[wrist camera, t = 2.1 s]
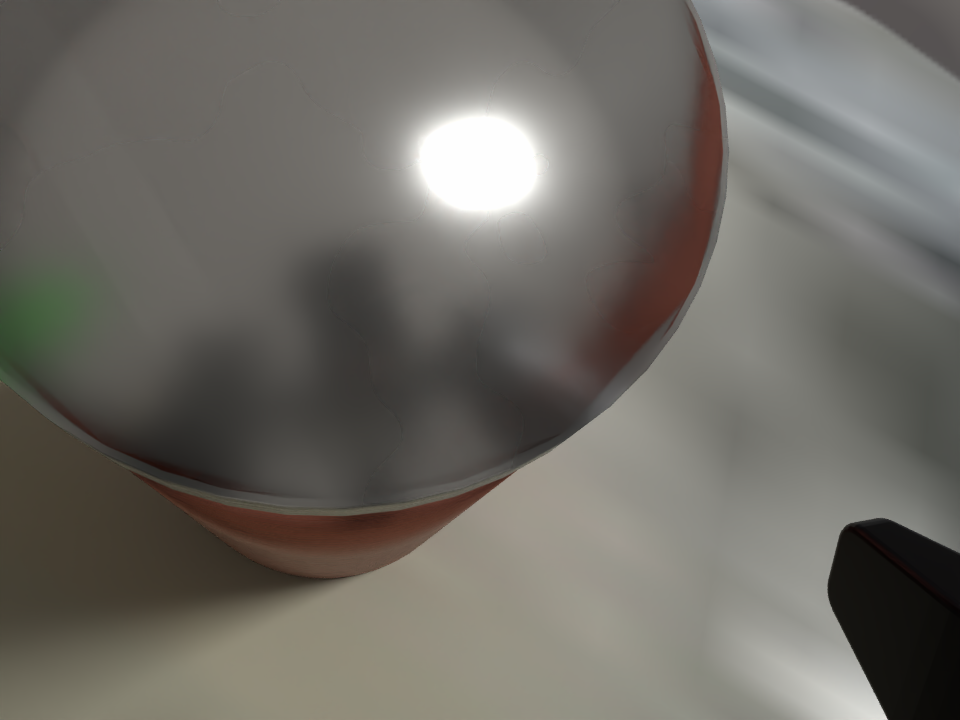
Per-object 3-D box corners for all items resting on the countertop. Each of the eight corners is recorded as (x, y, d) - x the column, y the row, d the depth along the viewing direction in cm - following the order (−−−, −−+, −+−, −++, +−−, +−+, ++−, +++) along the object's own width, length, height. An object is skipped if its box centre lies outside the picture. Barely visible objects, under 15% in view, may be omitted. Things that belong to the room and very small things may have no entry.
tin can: (445, 610, 19) (671, 596, 6) (131, 542, 18) (-281, 383, 6) (504, 322, 21) (767, -111, 8) (222, 251, 20) (58, -329, 8)
